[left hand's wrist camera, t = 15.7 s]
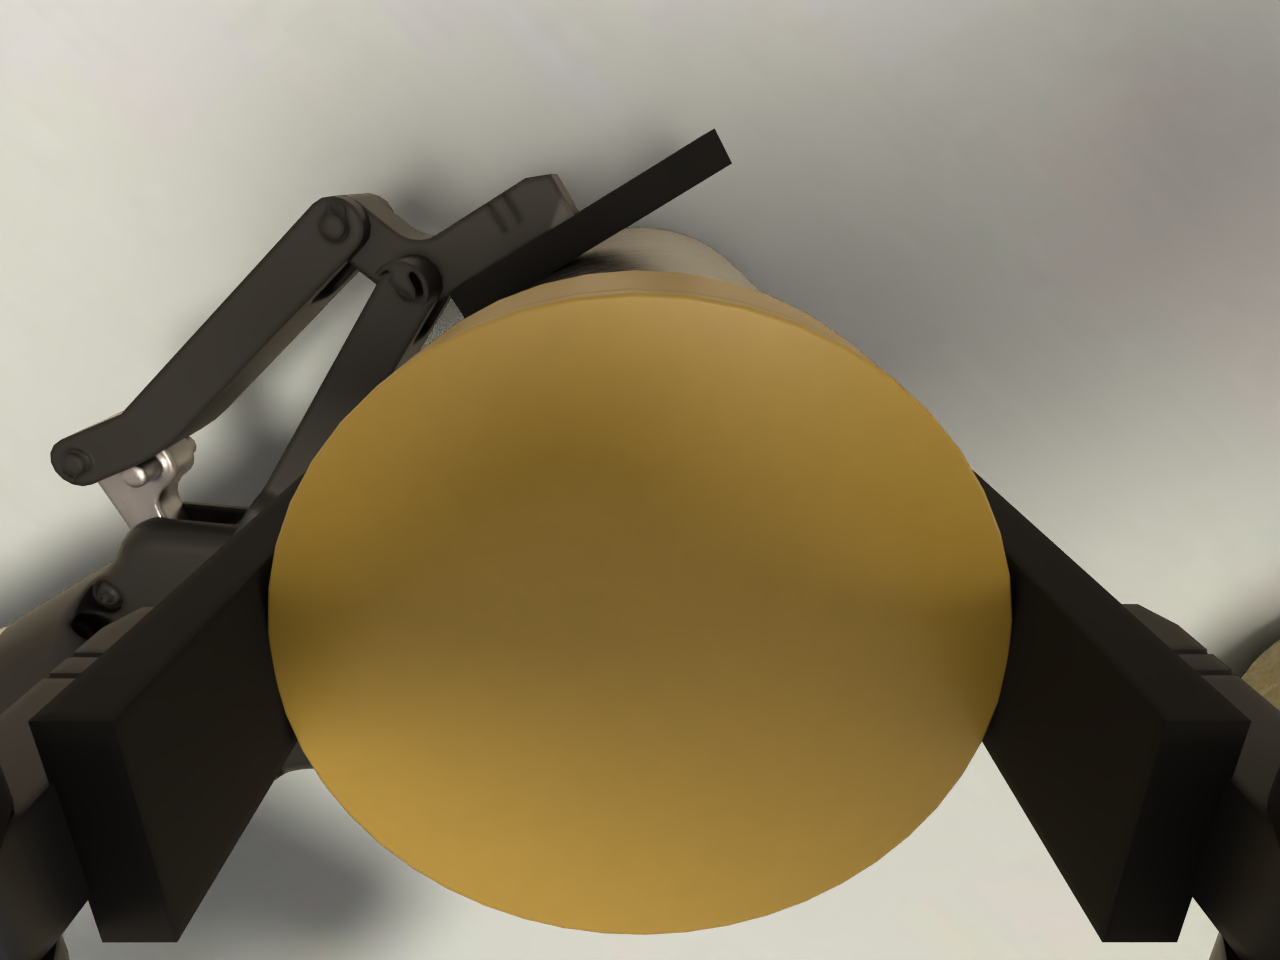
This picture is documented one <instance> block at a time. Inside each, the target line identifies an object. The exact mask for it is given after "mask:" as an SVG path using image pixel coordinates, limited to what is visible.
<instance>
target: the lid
mask: <svg viewBox="0 0 1280 960" xmlns="http://www.w3.org/2000/svg"><path fill="white" fill-rule="evenodd" d="M1011 629H1012V605H1011V587H1010V574H1009V570H1008V565H1007V561H1006V556H1005V551H1004V547H1003V542H1002V537H1001V533H1000V530H999V528H998V525H997V523H996V520H995V518H994V515H993V512H992V510H991V507H990V505H989V502H988V500H987V497H986V494H985V492H984V490H983V488H982V486H981V485H980V483H979V481H978V479H977V478H976V476H975V474H974V473H973V471H972V469H971V467H970V466H969V464H968V462H967V460H966V459H965V457H964V455H963V454H962V452H961V450H960V449H959V448H958V446H957V445H956V444H955V443H954V441H953V440H952V439H951V438H950V436H949V435H948V434H947V433H946V432H945V430H944V429H943V428H942V427H941V425H940V424H939V423H938V422H937V420H936V419H935V418H934V417H933V415H932V414H931V413H930V412H929V411H928V410H927V409H926V408H925V407H924V406H923V405H922V404H921V403H919V402H918V401H917V400H916V399H915V398H914V397H913V396H912V395H911V394H910V393H909V392H907V391H906V390H905V389H904V388H903V387H902V386H901V385H900V384H899V383H898V382H896V381H895V380H894V379H893V378H892V377H891V376H890V375H889V374H887V373H886V372H885V371H884V370H882V369H881V368H880V367H879V366H878V365H876V364H875V363H874V362H873V361H871V360H870V359H869V358H868V357H867V356H865V355H864V354H863V353H862V352H860V351H859V350H858V349H857V348H856V347H854V346H853V345H852V344H851V343H850V342H848V341H847V340H846V339H844V338H843V337H841V336H840V335H838V334H837V333H835V332H834V331H832V330H831V329H830V328H828V327H827V326H825V325H824V324H822V323H821V322H819V321H818V320H816V319H815V318H813V317H812V316H810V315H808V314H806V313H804V312H802V311H800V310H798V309H796V308H794V307H792V306H790V305H788V304H786V303H784V302H782V301H780V300H778V299H776V298H774V297H772V296H770V295H767V294H764V293H761V292H758V291H755V290H752V289H749V288H746V287H742V286H739V285H736V284H733V283H730V282H727V281H723V280H718V279H712V278H707V277H701V276H696V275H691V274H685V273H679V272H658V271H637V270H631V271H619V272H608V273H596V274H586V275H581V276H577V277H572V278H568V279H563V280H559V281H555V282H550V283H546V284H541V285H538V286H536V287H533V288H530V289H528V290H525V291H522V292H520V293H517V294H514V295H512V296H509V297H506V298H504V299H501V300H498V301H496V302H495V303H493V304H491V305H489V306H487V307H485V308H483V309H482V310H480V311H478V312H476V313H474V314H472V315H471V316H469V317H467V318H465V319H463V320H461V321H459V322H458V323H457V324H455V325H454V326H452V327H451V328H450V329H448V330H447V331H446V332H444V333H443V334H442V335H440V336H439V337H438V338H436V339H435V340H434V341H432V342H431V343H430V344H428V345H427V346H425V347H424V348H423V349H422V350H420V351H419V352H418V353H417V354H416V355H414V356H413V357H412V358H411V359H409V360H408V361H407V362H406V363H404V364H403V365H402V366H401V367H400V368H398V369H397V370H396V371H395V372H393V373H392V374H391V375H390V376H389V377H387V378H386V379H385V380H384V381H382V382H381V383H380V384H379V385H378V386H376V387H375V388H374V389H373V390H372V391H371V392H370V393H369V394H368V395H367V396H366V397H365V398H364V399H363V400H362V401H361V402H360V403H359V404H358V405H357V406H356V407H355V408H354V409H353V410H352V411H351V412H350V413H349V414H348V415H347V416H346V417H345V418H344V419H343V420H342V421H341V422H340V424H339V425H338V426H337V428H336V429H335V430H334V432H333V433H332V434H331V436H330V437H329V438H328V440H327V441H326V443H325V444H324V445H323V447H322V448H321V449H320V451H319V452H318V453H317V455H316V456H315V457H314V459H313V460H312V462H311V463H310V465H309V467H308V469H307V471H306V473H305V475H304V477H303V479H302V481H301V483H300V485H299V486H298V488H297V490H296V492H295V494H294V496H293V498H292V500H291V502H290V504H289V507H288V510H287V513H286V516H285V519H284V522H283V525H282V528H281V531H280V534H279V537H278V540H277V543H276V546H275V552H274V558H273V564H272V570H271V576H270V581H269V587H268V637H269V644H270V649H271V655H272V660H273V666H274V671H275V676H276V681H277V685H278V690H279V693H280V697H281V700H282V703H283V707H284V710H285V713H286V716H287V718H288V720H289V722H290V724H291V726H292V729H293V731H294V733H295V735H296V737H297V740H298V742H299V744H300V746H301V748H302V750H303V752H304V754H305V755H306V757H307V758H308V760H309V761H310V763H311V765H312V766H313V768H314V769H315V771H316V772H317V774H318V776H319V777H320V779H321V780H322V782H323V783H324V785H325V786H326V787H327V789H328V790H329V791H330V792H331V793H332V795H333V796H334V797H335V798H336V799H337V801H338V802H339V803H340V804H341V805H342V807H343V808H344V809H345V810H346V811H347V813H348V814H349V815H350V816H351V817H352V818H353V819H354V820H355V821H356V822H357V823H358V824H359V825H360V826H362V827H363V828H364V829H365V830H366V831H367V832H368V833H369V834H370V835H371V836H372V837H373V838H374V839H375V840H376V841H377V842H378V843H380V844H381V845H382V846H384V847H385V848H386V849H388V850H389V851H390V852H392V853H393V854H394V855H396V856H397V857H398V858H400V859H401V860H402V861H404V862H405V863H406V864H408V865H409V866H410V867H412V868H413V869H415V870H417V871H418V872H420V873H422V874H423V875H425V876H427V877H429V878H430V879H432V880H434V881H435V882H437V883H439V884H440V885H442V886H444V887H446V888H447V889H449V890H452V891H454V892H456V893H458V894H460V895H463V896H465V897H467V898H469V899H471V900H474V901H476V902H478V903H480V904H482V905H485V906H488V907H491V908H494V909H497V910H500V911H502V912H505V913H508V914H511V915H514V916H517V917H520V918H523V919H527V920H532V921H536V922H540V923H545V924H549V925H554V926H558V927H562V928H569V929H576V930H584V931H592V932H599V933H614V934H644V935H647V934H663V933H680V932H690V931H697V930H703V929H709V928H716V927H722V926H728V925H732V924H736V923H740V922H743V921H747V920H751V919H755V918H759V917H763V916H767V915H770V914H772V913H775V912H778V911H780V910H783V909H786V908H789V907H791V906H794V905H797V904H799V903H802V902H805V901H807V900H809V899H811V898H813V897H815V896H817V895H819V894H821V893H823V892H825V891H828V890H830V889H832V888H834V887H836V886H838V885H840V884H842V883H844V882H845V881H847V880H848V879H850V878H851V877H853V876H855V875H856V874H858V873H859V872H861V871H863V870H864V869H866V868H867V867H869V866H871V865H872V864H874V863H875V862H877V861H878V860H879V859H881V858H882V857H883V856H884V855H886V854H887V853H888V852H889V851H891V850H892V849H893V848H894V847H896V846H897V845H898V844H899V843H901V842H902V841H903V840H905V839H906V838H907V837H908V836H909V835H910V834H911V833H912V832H913V831H914V830H915V829H916V828H917V827H918V826H919V825H920V824H921V823H922V822H923V821H924V820H925V819H926V818H927V817H928V816H929V815H930V814H931V813H932V812H933V811H934V810H935V809H936V808H937V807H938V806H939V804H940V803H941V802H942V801H943V799H944V798H945V797H946V795H947V794H948V793H949V792H950V790H951V789H952V788H953V786H954V785H955V784H956V782H957V781H958V780H959V779H960V777H961V776H962V775H963V773H964V771H965V769H966V768H967V766H968V764H969V763H970V761H971V759H972V757H973V756H974V754H975V752H976V751H977V749H978V747H979V745H980V744H981V742H982V740H983V738H984V735H985V733H986V731H987V728H988V726H989V723H990V721H991V718H992V716H993V714H994V711H995V709H996V706H997V704H998V701H999V697H1000V693H1001V688H1002V683H1003V678H1004V674H1005V669H1006V664H1007V659H1008V653H1009V647H1010V639H1011Z"/></svg>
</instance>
